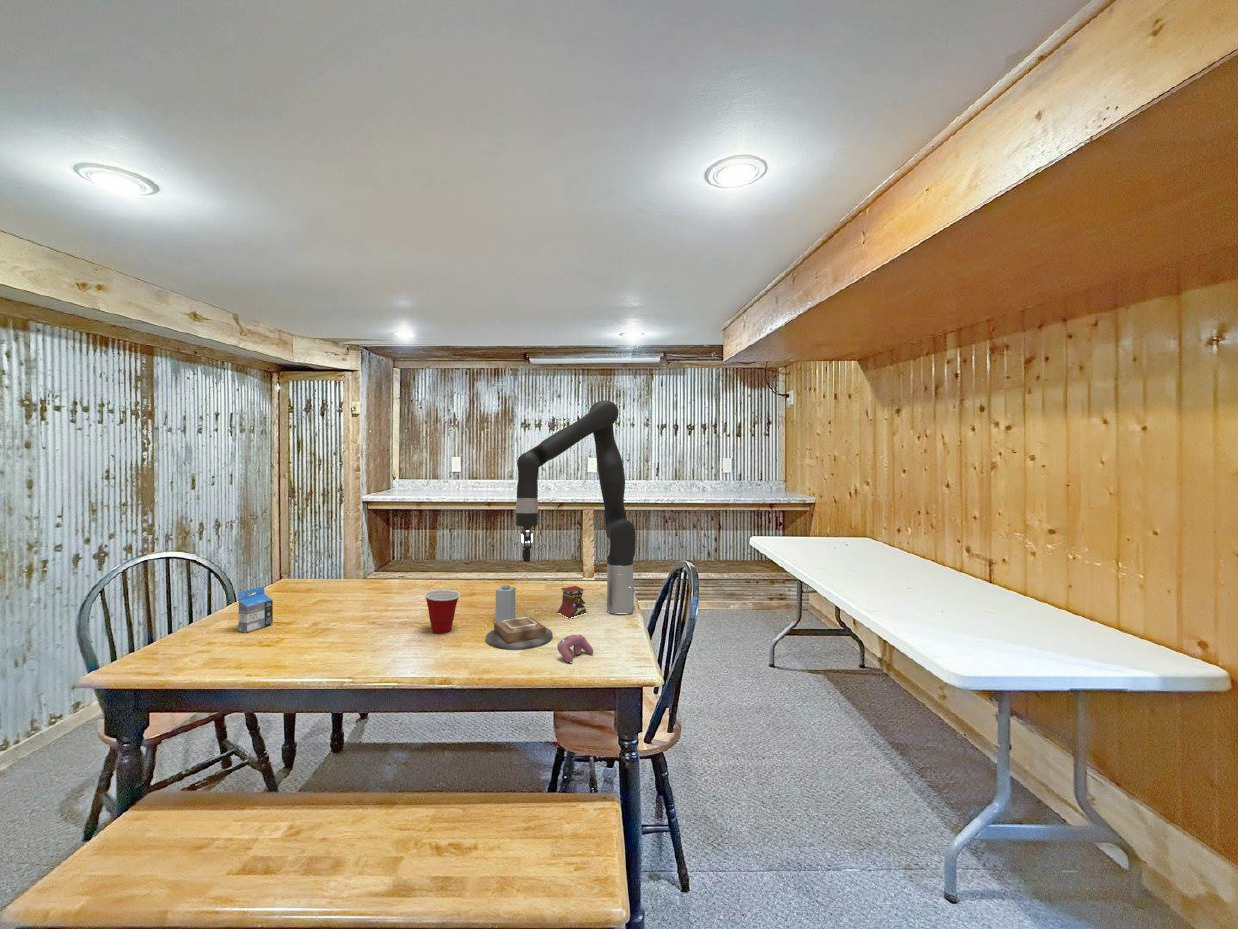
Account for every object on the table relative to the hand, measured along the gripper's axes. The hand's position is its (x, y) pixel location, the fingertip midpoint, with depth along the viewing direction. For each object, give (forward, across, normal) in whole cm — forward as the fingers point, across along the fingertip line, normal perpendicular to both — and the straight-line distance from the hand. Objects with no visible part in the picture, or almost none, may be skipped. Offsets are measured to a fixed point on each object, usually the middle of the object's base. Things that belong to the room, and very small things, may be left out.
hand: (526, 560), depth 186 cm
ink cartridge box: (+22, +9, +84) cm, 87 cm away
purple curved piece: (+23, -34, -12) cm, 43 cm away
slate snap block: (+20, +2, +6) cm, 22 cm away
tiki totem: (+20, +6, -17) cm, 27 cm away
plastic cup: (+21, -5, +26) cm, 34 cm away
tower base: (+22, -16, +2) cm, 27 cm away
